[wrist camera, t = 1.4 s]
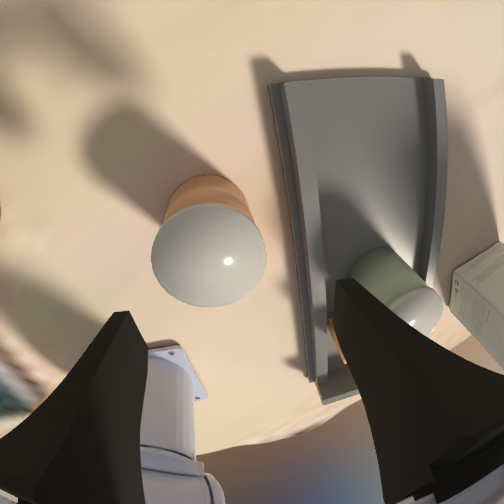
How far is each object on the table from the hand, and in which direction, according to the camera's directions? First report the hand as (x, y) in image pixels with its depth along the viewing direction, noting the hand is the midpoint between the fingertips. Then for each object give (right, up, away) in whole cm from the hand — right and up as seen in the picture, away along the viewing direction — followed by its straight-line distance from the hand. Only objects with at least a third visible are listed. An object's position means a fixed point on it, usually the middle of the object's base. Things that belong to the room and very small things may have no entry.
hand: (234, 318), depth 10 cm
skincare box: (+24, 0, +15) cm, 29 cm away
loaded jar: (+10, 0, +12) cm, 15 cm away
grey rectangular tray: (+10, +2, +12) cm, 15 cm away
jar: (-2, +5, +8) cm, 10 cm away
